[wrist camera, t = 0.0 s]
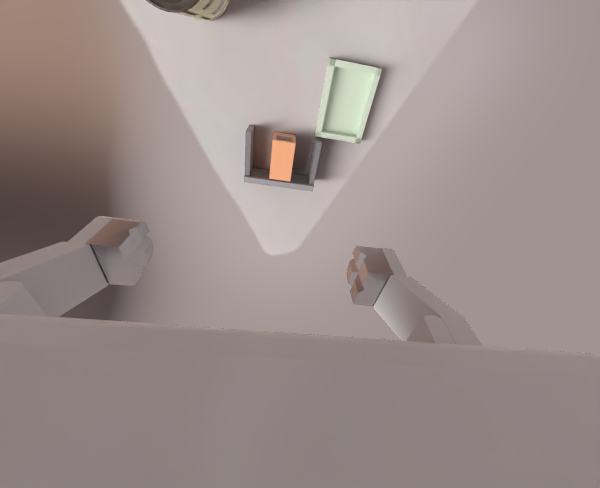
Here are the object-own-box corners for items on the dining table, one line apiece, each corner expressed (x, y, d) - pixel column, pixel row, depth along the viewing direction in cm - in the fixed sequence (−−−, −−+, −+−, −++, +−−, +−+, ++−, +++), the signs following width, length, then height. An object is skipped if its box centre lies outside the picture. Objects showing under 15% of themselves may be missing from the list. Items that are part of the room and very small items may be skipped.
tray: (328, 57, 45) (330, 58, 43) (378, 67, 46) (382, 68, 44) (314, 133, 53) (315, 136, 51) (357, 140, 54) (359, 143, 52)
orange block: (274, 130, 52) (272, 138, 47) (295, 133, 53) (295, 142, 48) (271, 167, 57) (269, 178, 52) (290, 170, 58) (290, 181, 53)
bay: (249, 125, 51) (245, 132, 47) (319, 136, 53) (322, 144, 48) (247, 171, 57) (244, 182, 53) (311, 180, 59) (312, 191, 55)
